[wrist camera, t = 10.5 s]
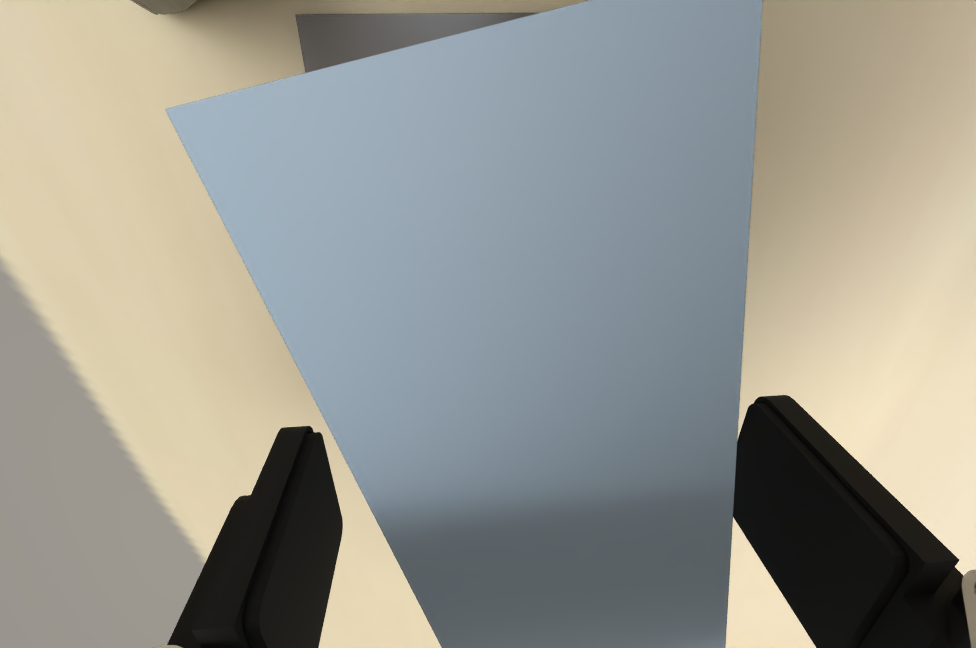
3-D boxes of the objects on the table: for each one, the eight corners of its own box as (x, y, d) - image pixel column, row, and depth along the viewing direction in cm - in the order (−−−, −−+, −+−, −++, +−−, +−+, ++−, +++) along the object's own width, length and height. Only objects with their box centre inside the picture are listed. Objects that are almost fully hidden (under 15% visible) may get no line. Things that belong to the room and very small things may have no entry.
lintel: (565, 19, 10) (764, -45, 4) (623, 517, 18) (718, 757, 12) (333, 78, 10) (164, 108, 4) (492, 546, 18) (519, 797, 12)
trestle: (675, 12, 16) (807, -14, 10) (612, 433, 24) (662, 544, 19) (298, 15, 15) (211, -11, 9) (374, 449, 23) (352, 571, 18)
